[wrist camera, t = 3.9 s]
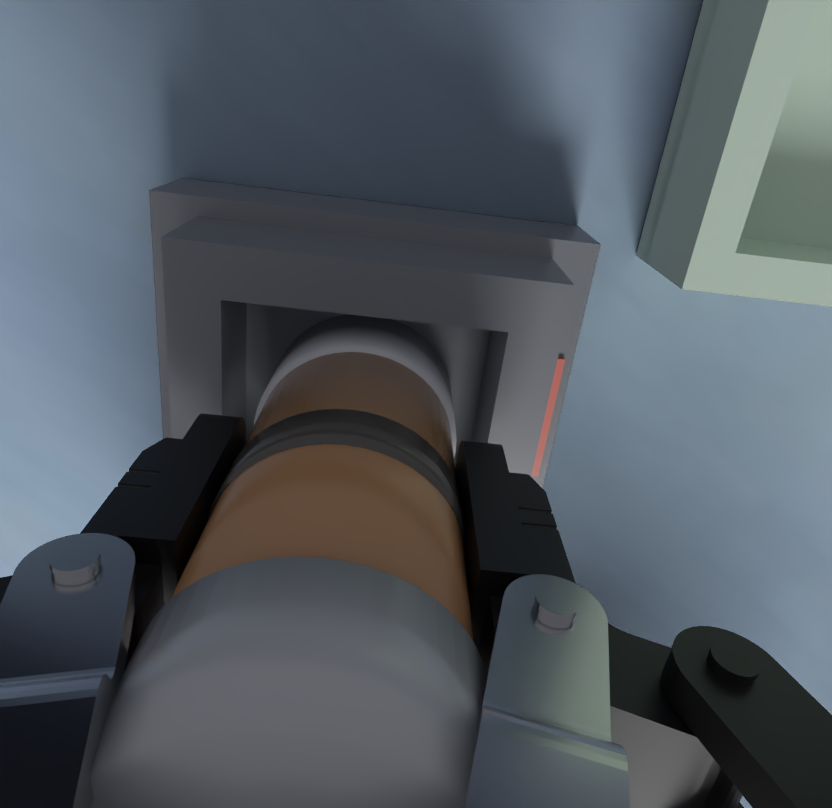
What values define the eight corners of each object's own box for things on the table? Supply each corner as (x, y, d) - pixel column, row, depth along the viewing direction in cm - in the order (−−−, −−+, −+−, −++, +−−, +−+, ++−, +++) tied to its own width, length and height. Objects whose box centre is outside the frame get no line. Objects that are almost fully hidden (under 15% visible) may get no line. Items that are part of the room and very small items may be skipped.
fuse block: (578, 225, 15) (630, 268, 11) (462, 748, 23) (471, 873, 19) (182, 177, 14) (105, 206, 11) (202, 728, 22) (160, 852, 19)
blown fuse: (463, 324, 14) (555, 754, 5) (438, 482, 16) (472, 1017, 7) (275, 303, 14) (7, 712, 5) (271, 465, 15) (68, 994, 6)
